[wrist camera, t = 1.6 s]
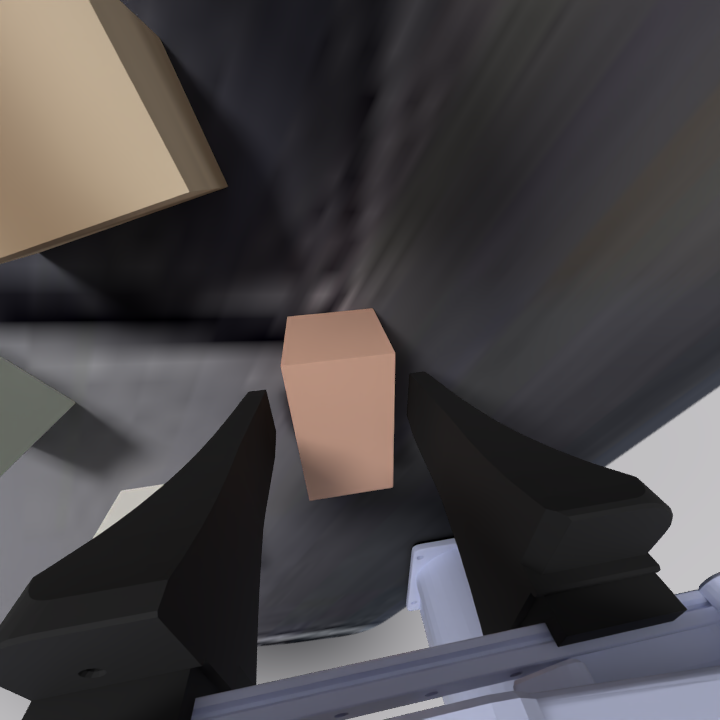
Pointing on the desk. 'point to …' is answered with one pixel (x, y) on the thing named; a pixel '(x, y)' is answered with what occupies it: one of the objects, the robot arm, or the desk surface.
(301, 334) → the terracotta brick
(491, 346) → the desk surface
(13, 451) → the sage brick
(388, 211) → the desk surface
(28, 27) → the oak brick
